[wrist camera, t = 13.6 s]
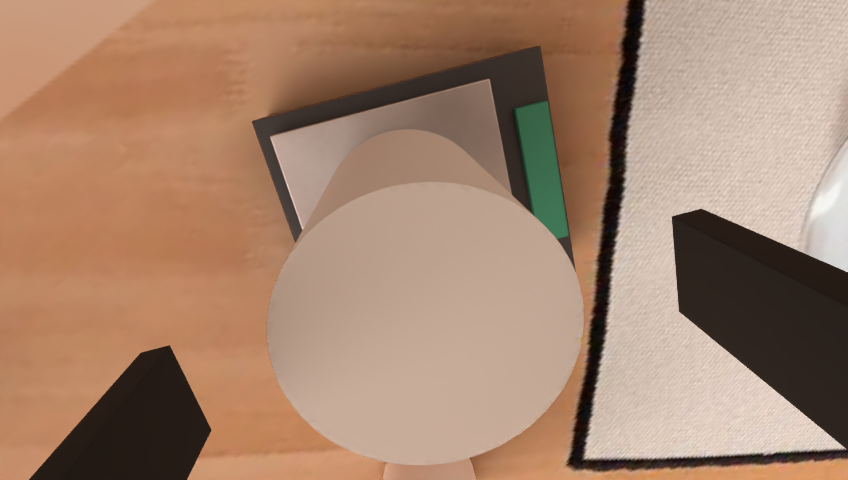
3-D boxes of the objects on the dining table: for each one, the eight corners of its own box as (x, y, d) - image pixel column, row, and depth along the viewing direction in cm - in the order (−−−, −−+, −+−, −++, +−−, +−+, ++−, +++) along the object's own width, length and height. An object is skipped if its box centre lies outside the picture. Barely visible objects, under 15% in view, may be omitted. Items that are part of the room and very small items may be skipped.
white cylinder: (410, 319, 26) (429, 510, 14) (289, 217, 23) (198, 348, 12) (523, 210, 24) (645, 328, 13) (406, 91, 22) (427, 106, 11)
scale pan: (273, 134, 23) (269, 136, 22) (486, 78, 23) (489, 77, 22) (338, 323, 26) (337, 330, 26) (524, 275, 26) (528, 281, 25)
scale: (266, 116, 26) (248, 122, 22) (523, 49, 26) (543, 44, 22) (334, 313, 30) (328, 342, 26) (558, 255, 29) (579, 277, 26)
